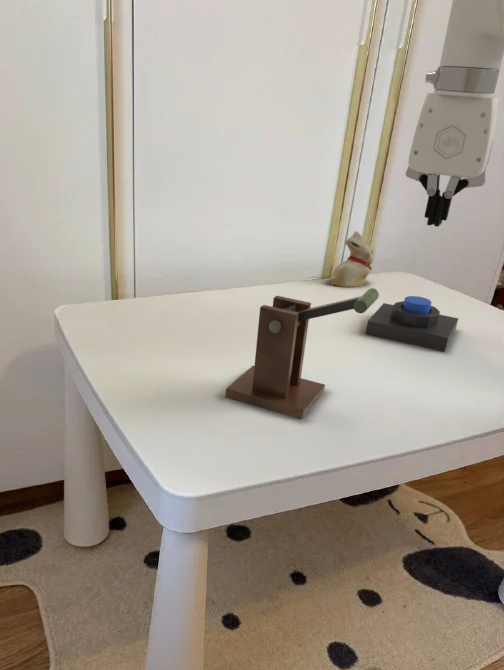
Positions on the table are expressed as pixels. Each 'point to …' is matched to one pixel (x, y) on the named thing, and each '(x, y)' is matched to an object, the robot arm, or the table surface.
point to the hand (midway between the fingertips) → (434, 223)
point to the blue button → (417, 305)
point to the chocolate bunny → (354, 263)
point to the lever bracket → (279, 363)
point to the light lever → (338, 306)
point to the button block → (412, 326)
